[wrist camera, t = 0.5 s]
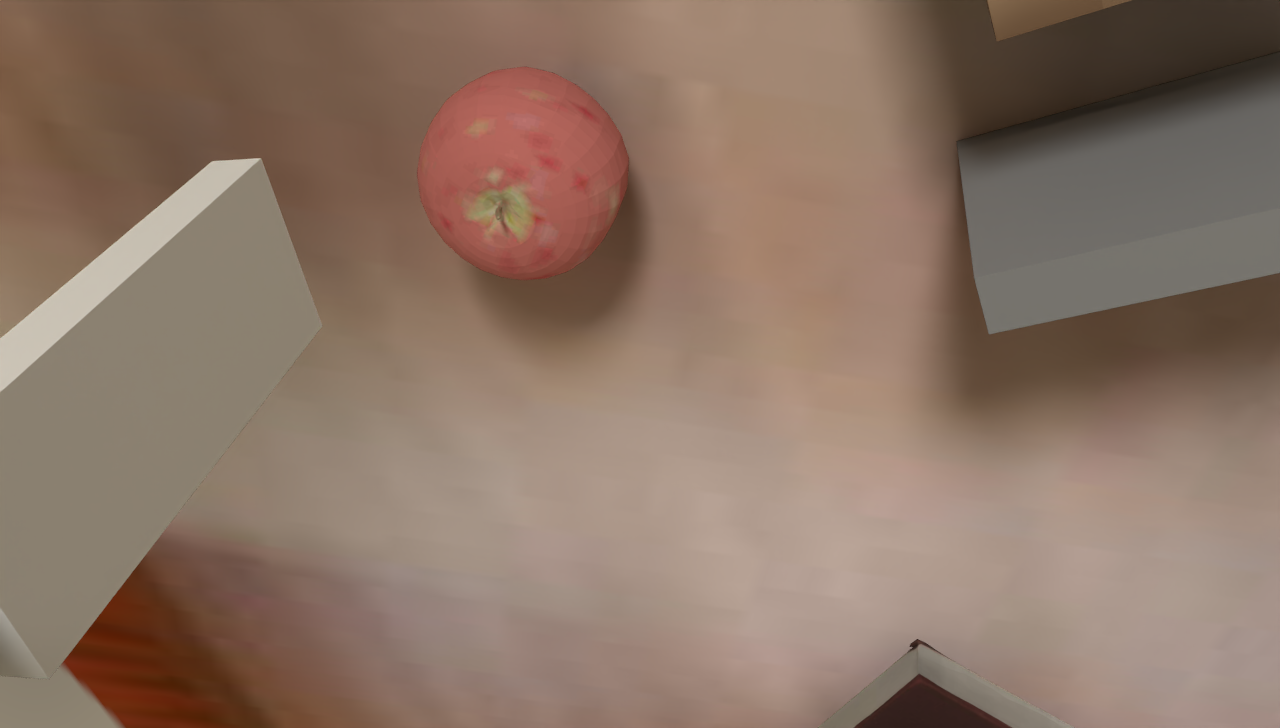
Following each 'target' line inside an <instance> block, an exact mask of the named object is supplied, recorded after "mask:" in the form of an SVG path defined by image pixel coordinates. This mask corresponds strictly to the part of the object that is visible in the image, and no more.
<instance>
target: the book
mask: <svg viewBox="0 0 1280 728" xmlns="http://www.w3.org/2000/svg"><path fill="white" fill-rule="evenodd" d="M910 647H913V648H912V649H911V650H910V651H908V652H907V653H906V654H905V655H904V656H903V657H901V658H900V659H899V660H898V661H897V662H895V663H894V664H893V665H892V666H891V667H889V668H888V669H887V670H886V671H885V672H884V673H882V674H881V675H880V676H879V677H878V678H876V679H875V680H874V681H873V682H872V683H870V684H869V685H868V686H867V687H866V688H865V689H863V690H862V691H861V692H860V693H859V694H857V695H856V696H855V697H854V698H853V699H851V700H850V701H849V702H848V703H847V704H845V705H844V706H843V707H842V708H841V709H839V710H838V711H837V712H836V713H835V714H833V715H832V716H831V717H830V718H829V719H827V720H826V721H825V722H824V723H823V724H821V725H820V726H819V727H818V728H1074V727H1073V726H1071V725H1069V724H1067V723H1065V722H1063V721H1061V720H1059V719H1058V718H1056V717H1054V716H1052V715H1050V714H1048V713H1047V712H1045V711H1043V710H1041V709H1039V708H1037V707H1035V706H1033V705H1031V704H1029V703H1028V702H1026V701H1024V700H1022V699H1020V698H1019V697H1017V696H1015V695H1013V694H1011V693H1009V692H1008V691H1006V690H1004V689H1002V688H1000V687H998V686H997V685H995V684H993V683H991V682H989V681H988V680H986V679H984V678H982V677H980V676H979V675H977V674H975V673H973V672H971V671H970V670H968V669H966V668H964V667H963V666H961V665H960V664H958V663H956V662H955V661H953V660H951V659H950V658H948V657H946V656H945V655H943V654H941V653H940V652H938V651H937V650H935V649H934V648H932V647H931V646H929V645H928V644H927V643H924V642H922V641H920V640H918V639H917V640H915V641H914V642H913V643H911V645H910Z"/></svg>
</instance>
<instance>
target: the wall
mask: <svg viewBox="0 0 1280 728" xmlns="http://www.w3.org/2000/svg"><path fill="white" fill-rule="evenodd" d="M957 148H958V156H959V163H960V171H961V179H962V187H963V195H964V202H965V210H966V218H967V226H968V234H969V241H970V249H971V257H972V265H973V273H974V279H975V283H976V287H977V291H978V295H979V298H980V302H981V306H982V310H983V314H984V317H985V321H986V325H987V329H988V333H989V334H993V333H998V332H1003V331H1007V330H1012V329H1017V328H1022V327H1026V326H1031V325H1036V324H1041V323H1045V322H1050V321H1055V320H1059V319H1064V318H1069V317H1074V316H1078V315H1083V314H1088V313H1093V312H1097V311H1102V310H1107V309H1111V308H1116V307H1121V306H1126V305H1130V304H1135V303H1140V302H1145V301H1149V300H1154V299H1159V298H1163V297H1168V296H1173V295H1178V294H1182V293H1187V292H1192V291H1197V290H1201V289H1206V288H1211V287H1215V286H1220V285H1225V284H1230V283H1234V282H1239V281H1244V280H1249V279H1253V278H1258V277H1263V276H1267V275H1272V274H1277V273H1280V52H1277V53H1274V54H1270V55H1266V56H1263V57H1259V58H1256V59H1252V60H1248V61H1245V62H1241V63H1238V64H1234V65H1230V66H1227V67H1223V68H1220V69H1216V70H1212V71H1209V72H1205V73H1202V74H1198V75H1194V76H1191V77H1187V78H1184V79H1180V80H1176V81H1173V82H1169V83H1166V84H1162V85H1158V86H1155V87H1151V88H1148V89H1144V90H1140V91H1137V92H1133V93H1130V94H1126V95H1122V96H1119V97H1115V98H1112V99H1108V100H1104V101H1101V102H1097V103H1094V104H1090V105H1086V106H1083V107H1079V108H1076V109H1072V110H1068V111H1065V112H1061V113H1058V114H1054V115H1050V116H1047V117H1043V118H1040V119H1036V120H1032V121H1029V122H1025V123H1022V124H1018V125H1014V126H1011V127H1007V128H1004V129H1000V130H996V131H993V132H989V133H986V134H982V135H978V136H975V137H971V138H968V139H964V140H960V141H957Z"/></svg>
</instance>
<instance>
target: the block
mask: <svg viewBox="0 0 1280 728" xmlns="http://www.w3.org/2000/svg"><path fill="white" fill-rule="evenodd" d="M986 1H987V5H988V9H989V13H990V17H991V21H992V25H993V29H994V33H995V37H996V41H997V42H998V41H1001V40H1004V39H1007V38H1011V37H1014V36H1017V35H1020V34H1024V33H1027V32H1030V31H1033V30H1037V29H1040V28H1043V27H1046V26H1050V25H1053V24H1056V23H1059V22H1063V21H1066V20H1069V19H1073V18H1076V17H1079V16H1082V15H1086V14H1089V13H1092V12H1095V11H1099V10H1102V9H1105V8H1108V7H1112V6H1115V5H1118V4H1121V3H1125V2H1128V1H1131V0H986Z"/></svg>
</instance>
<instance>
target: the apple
mask: <svg viewBox="0 0 1280 728" xmlns="http://www.w3.org/2000/svg"><path fill="white" fill-rule="evenodd" d="M628 166H629V157H628V154H627V151H626V148H625V145H624V142H623V139H622V136H621V133H620V132H619V130H618V129H617V127H616V126H615V124H614V123H613V121H612V119H611V118H610V116H609V115H608V113H607V112H606V111H605V110H604V109H603V108H602V107H601V106H600V105H599V104H598V103H597V101H596V100H595V99H594V98H592V97H591V96H590V95H589V94H587V93H586V92H585V91H583V90H582V89H581V88H580V87H578V86H577V85H576V84H574V83H572V82H570V81H568V80H566V79H564V78H562V77H560V76H559V75H557V74H555V73H551V72H547V71H543V70H538V69H534V68H529V67H518V68H510V69H503V70H496V71H493V72H490V73H488V74H486V75H484V76H482V77H480V78H478V79H476V80H474V81H472V82H470V83H468V84H467V85H465V86H464V87H463V88H461V89H460V90H459V91H457V92H456V93H455V94H453V95H452V96H451V97H450V98H448V99H447V101H446V102H445V103H444V104H443V106H442V107H441V109H440V110H439V112H438V113H437V114H436V116H435V117H434V119H433V120H432V122H431V124H430V127H429V129H428V131H427V134H426V136H425V138H424V141H423V143H422V146H421V150H420V157H419V163H418V170H417V177H418V184H419V191H420V198H421V202H422V204H423V207H424V209H425V211H426V213H427V216H428V218H429V220H430V223H431V224H432V226H433V227H434V228H435V230H436V231H437V232H438V234H439V235H440V236H441V238H442V239H443V240H444V242H445V243H446V244H447V245H448V246H449V247H450V248H452V249H453V250H454V251H455V252H456V253H457V254H458V255H459V256H460V257H461V258H463V259H464V260H466V261H468V262H469V263H471V264H472V265H474V266H476V267H477V268H479V269H481V270H483V271H486V272H489V273H491V274H494V275H497V276H500V277H505V278H512V279H519V280H532V279H543V278H549V277H552V276H555V275H558V274H561V273H564V272H567V271H569V270H571V269H572V268H574V267H575V266H577V265H578V264H580V263H581V262H583V261H584V260H586V259H587V258H588V257H589V256H590V255H591V254H592V253H593V252H594V250H595V249H596V248H597V247H598V246H599V244H600V243H601V242H602V241H603V239H604V238H605V236H606V234H607V232H608V231H609V229H610V227H611V225H612V224H613V222H614V220H615V218H616V216H617V213H618V211H619V208H620V206H621V203H622V200H623V198H624V195H625V193H626V190H627V183H628Z"/></svg>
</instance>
